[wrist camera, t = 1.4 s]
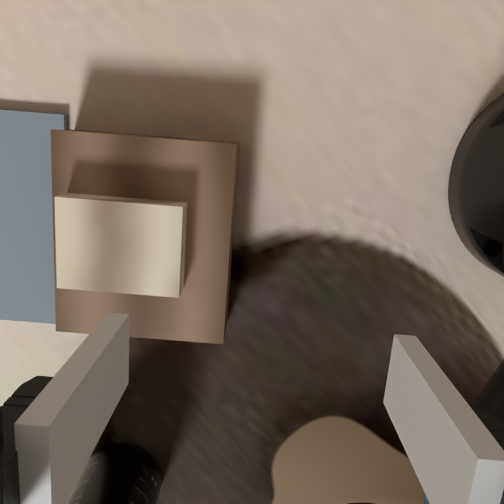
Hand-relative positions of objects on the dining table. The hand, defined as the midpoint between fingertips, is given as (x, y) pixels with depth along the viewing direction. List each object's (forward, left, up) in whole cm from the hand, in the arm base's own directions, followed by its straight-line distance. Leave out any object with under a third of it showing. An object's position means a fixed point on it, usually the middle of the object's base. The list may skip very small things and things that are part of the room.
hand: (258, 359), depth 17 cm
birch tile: (+9, 0, -16) cm, 18 cm away
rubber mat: (+20, 0, -20) cm, 28 cm away
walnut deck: (+8, 0, -20) cm, 21 cm away
